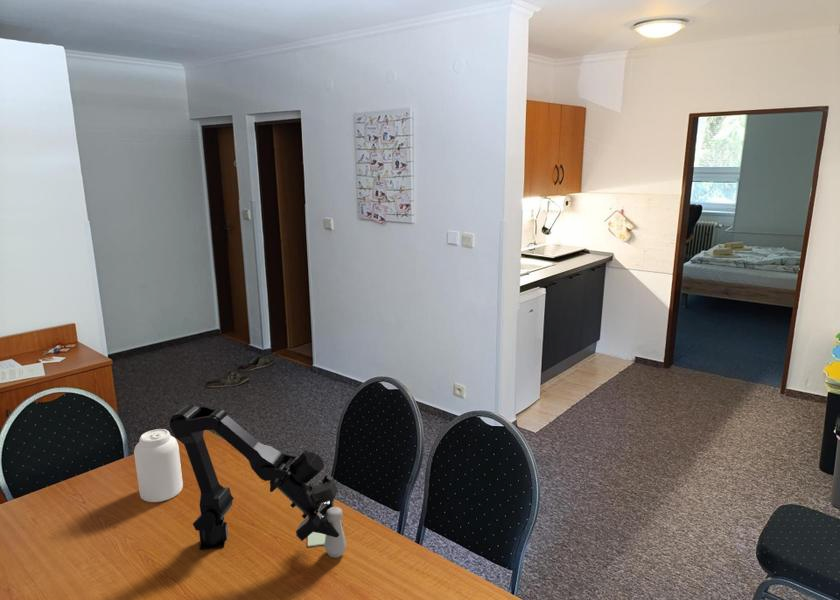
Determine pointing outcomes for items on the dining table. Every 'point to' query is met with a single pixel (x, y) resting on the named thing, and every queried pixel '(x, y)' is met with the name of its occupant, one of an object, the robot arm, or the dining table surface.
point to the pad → (316, 539)
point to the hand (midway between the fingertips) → (340, 531)
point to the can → (158, 466)
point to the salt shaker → (338, 544)
